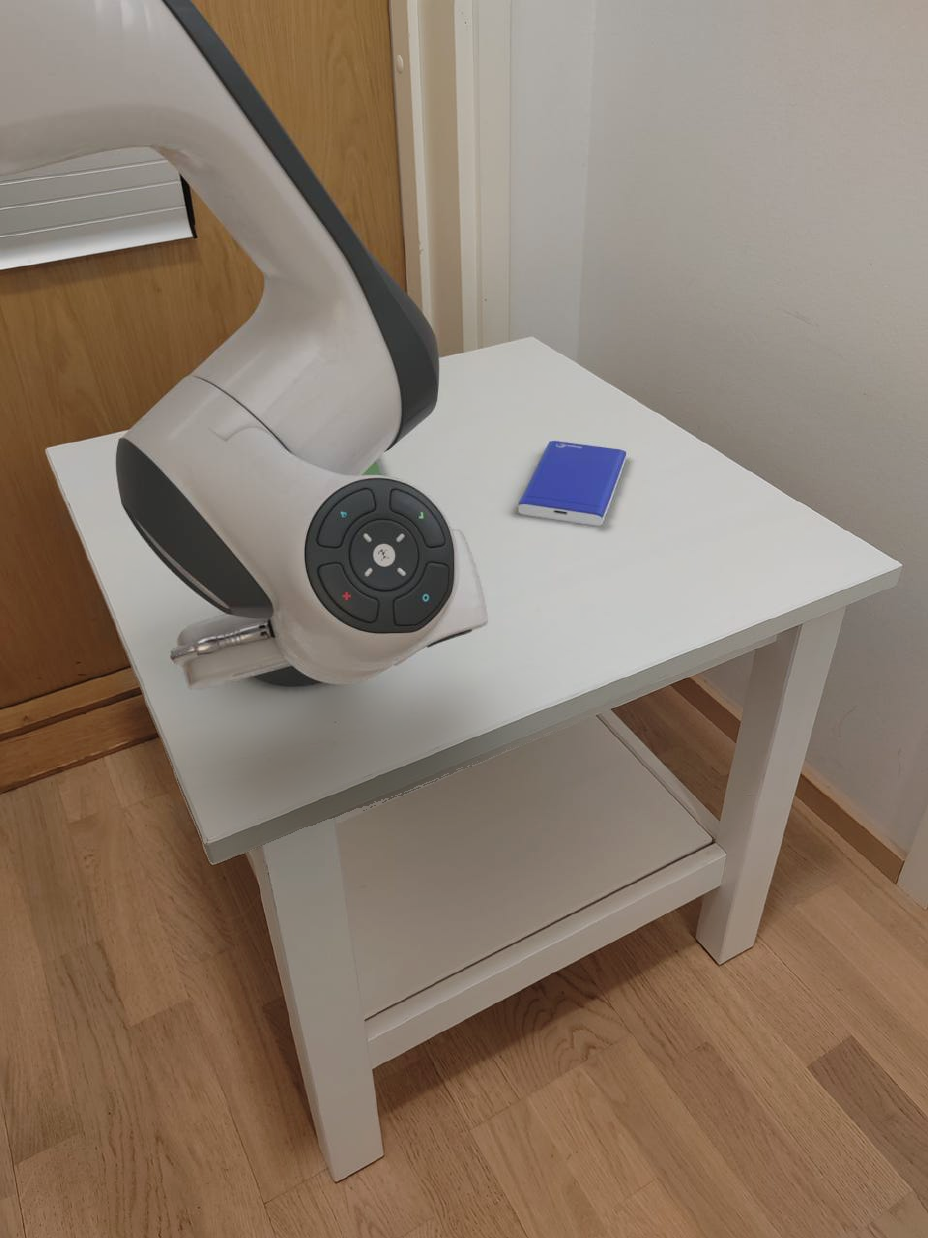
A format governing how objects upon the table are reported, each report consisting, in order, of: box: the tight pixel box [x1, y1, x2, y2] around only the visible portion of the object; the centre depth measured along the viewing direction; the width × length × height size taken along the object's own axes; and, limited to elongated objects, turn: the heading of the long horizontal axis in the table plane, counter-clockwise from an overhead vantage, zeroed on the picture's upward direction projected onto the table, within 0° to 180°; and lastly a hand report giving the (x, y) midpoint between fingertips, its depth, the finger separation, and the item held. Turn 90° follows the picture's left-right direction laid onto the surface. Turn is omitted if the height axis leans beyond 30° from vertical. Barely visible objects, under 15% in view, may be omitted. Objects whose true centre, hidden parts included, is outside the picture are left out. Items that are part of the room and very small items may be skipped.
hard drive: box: [518, 440, 627, 527], centre depth 95 cm, size 2×8×12 cm
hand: (323, 637), depth 70 cm, fingers closed, pressing on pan
